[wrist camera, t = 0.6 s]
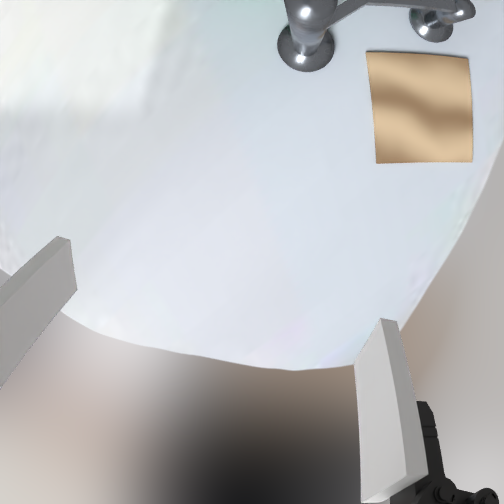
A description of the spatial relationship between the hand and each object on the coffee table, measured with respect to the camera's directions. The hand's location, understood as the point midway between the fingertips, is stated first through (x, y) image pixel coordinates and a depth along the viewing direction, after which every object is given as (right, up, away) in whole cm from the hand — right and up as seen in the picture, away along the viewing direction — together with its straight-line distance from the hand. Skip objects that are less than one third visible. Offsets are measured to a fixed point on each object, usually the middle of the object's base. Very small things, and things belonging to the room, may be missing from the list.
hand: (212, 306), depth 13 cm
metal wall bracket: (+13, +25, +12) cm, 31 cm away
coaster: (+20, +17, +15) cm, 30 cm away
